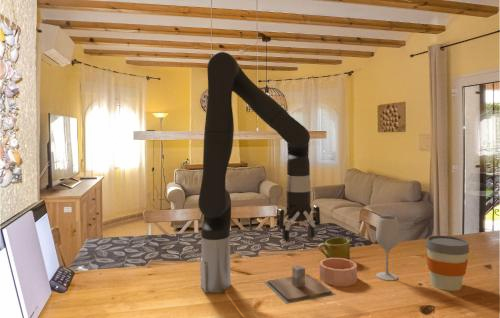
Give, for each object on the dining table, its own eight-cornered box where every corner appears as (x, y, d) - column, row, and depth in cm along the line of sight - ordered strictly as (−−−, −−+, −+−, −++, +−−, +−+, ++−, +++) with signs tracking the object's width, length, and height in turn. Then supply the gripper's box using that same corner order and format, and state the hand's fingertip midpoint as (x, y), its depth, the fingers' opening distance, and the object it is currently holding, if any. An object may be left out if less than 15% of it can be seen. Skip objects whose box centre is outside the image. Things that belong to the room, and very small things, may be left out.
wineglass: (373, 278, 131) (374, 218, 130) (377, 271, 138) (378, 214, 136) (396, 282, 128) (398, 220, 126) (399, 274, 134) (400, 216, 133)
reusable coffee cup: (473, 285, 125) (475, 240, 124) (458, 296, 116) (460, 248, 115) (434, 274, 134) (435, 233, 133) (418, 284, 126) (419, 240, 125)
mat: (286, 306, 111) (286, 303, 111) (264, 284, 127) (264, 282, 127) (336, 296, 117) (336, 294, 117) (309, 277, 133) (309, 275, 133)
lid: (287, 301, 112) (287, 279, 112) (268, 282, 126) (267, 262, 126) (331, 293, 118) (331, 272, 117) (307, 276, 132) (307, 257, 131)
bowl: (332, 290, 122) (332, 272, 121) (313, 277, 133) (313, 260, 133) (364, 285, 126) (364, 267, 125) (342, 272, 137) (342, 256, 137)
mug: (350, 251, 155) (346, 230, 152) (354, 267, 146) (350, 245, 142) (320, 255, 157) (316, 235, 154) (322, 271, 148) (318, 250, 144)
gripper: (283, 192, 114) (283, 245, 115) (324, 189, 119) (324, 240, 120) (272, 189, 121) (273, 239, 122) (312, 186, 126) (312, 234, 127)
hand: (298, 239), depth 121 cm, fingers open, 8 cm apart
